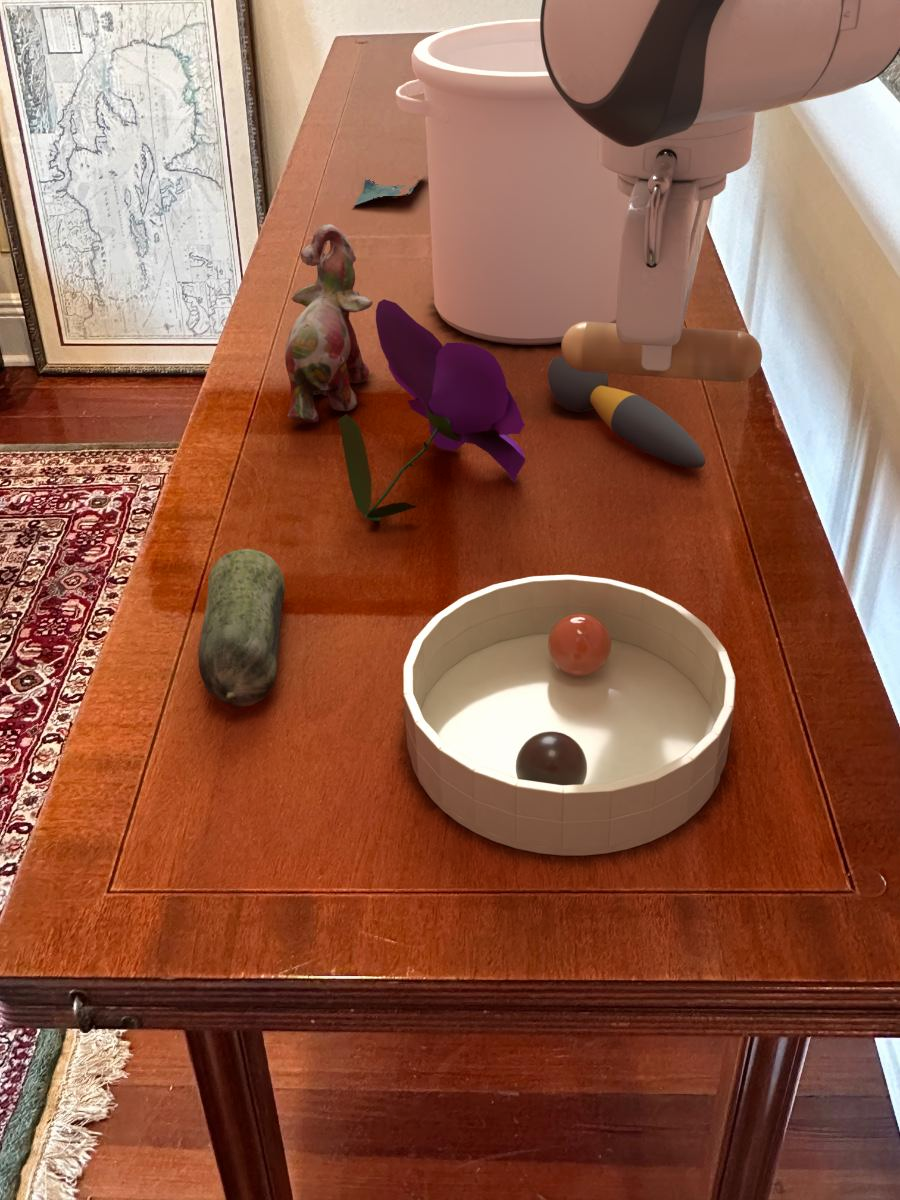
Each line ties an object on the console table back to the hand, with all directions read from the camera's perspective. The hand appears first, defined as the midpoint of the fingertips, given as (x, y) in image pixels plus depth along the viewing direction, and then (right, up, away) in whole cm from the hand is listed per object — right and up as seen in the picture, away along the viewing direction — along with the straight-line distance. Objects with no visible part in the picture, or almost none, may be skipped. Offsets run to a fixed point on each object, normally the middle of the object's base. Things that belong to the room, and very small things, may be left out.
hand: (660, 350), depth 77 cm
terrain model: (-21, +36, +76) cm, 87 cm away
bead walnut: (-8, -25, -10) cm, 28 cm away
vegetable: (-27, -20, +3) cm, 34 cm away
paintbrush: (+1, -2, +25) cm, 26 cm away
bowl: (-7, -24, -4) cm, 25 cm away
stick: (0, -1, +1) cm, 2 cm away
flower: (-15, -8, +18) cm, 25 cm away
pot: (-5, +14, +46) cm, 49 cm away
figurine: (-25, +2, +32) cm, 40 cm away
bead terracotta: (-5, -19, -1) cm, 20 cm away
